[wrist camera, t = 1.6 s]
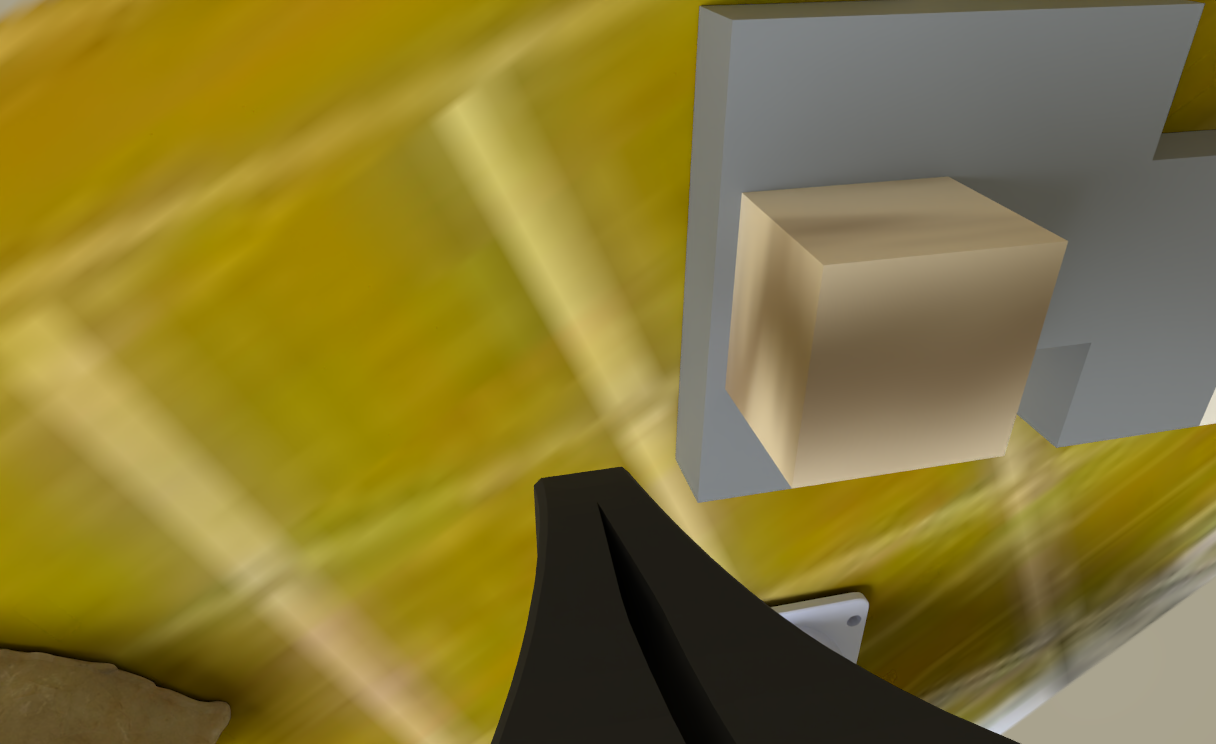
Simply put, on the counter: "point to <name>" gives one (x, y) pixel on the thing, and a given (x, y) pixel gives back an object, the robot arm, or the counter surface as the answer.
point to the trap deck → (985, 162)
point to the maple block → (884, 325)
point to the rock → (96, 705)
